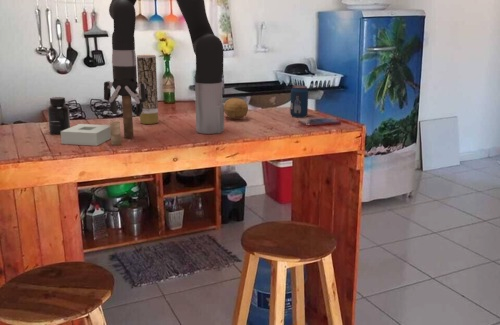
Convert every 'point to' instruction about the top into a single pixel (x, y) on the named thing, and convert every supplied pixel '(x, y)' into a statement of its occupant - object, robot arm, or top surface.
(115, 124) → the short pin
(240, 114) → the potato
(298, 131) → the top surface
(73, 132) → the hole block
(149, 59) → the paper tube
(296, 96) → the soda can
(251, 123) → the top surface
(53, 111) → the supplement bottle
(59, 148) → the top surface
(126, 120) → the long pin
